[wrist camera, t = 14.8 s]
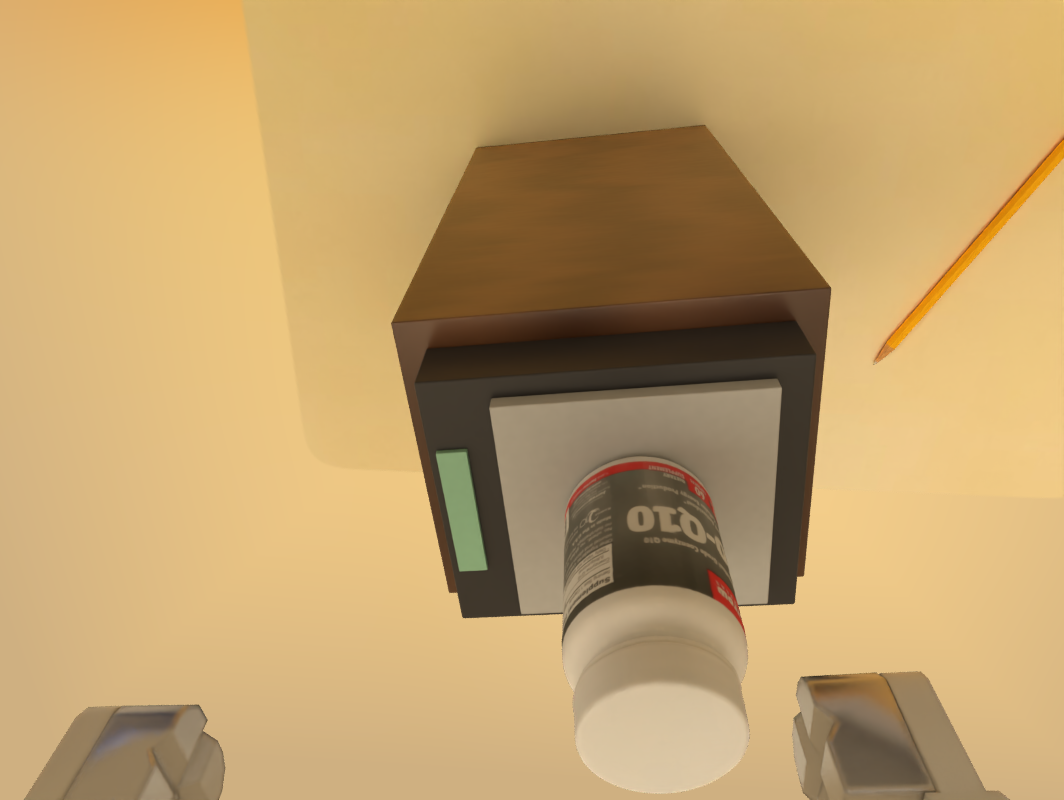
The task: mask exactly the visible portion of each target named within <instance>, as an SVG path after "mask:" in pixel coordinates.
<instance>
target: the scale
mask: <svg viewBox="0 0 1064 800" xmlns="http://www.w3.org/2000/svg"><path fill="white" fill-rule="evenodd" d="M816 358H817V354H816V352H815V351H814V349H813V347H812V346H811V344H810V343H809V341H808V339H807V338H806V336H805V334H804V333H803V331H802V329H801V328H800V326H799V324H798V323H797V321H786V322H773V323H759V324H746V325H733V326H720V327H707V328H694V329H680V330H667V331H654V332H641V333H628V334H615V335H601V336H588V337H575V338H562V339H549V340H536V341H523V342H509V343H496V344H483V345H470V346H457V347H444V348H430V349H426V352H425V355H424V357H423V360H422V363H421V366H420V368H419V371H418V374H417V377H416V379H415V382H414V386H415V391H416V396H417V401H418V406H419V411H420V415H421V420H422V425H423V430H424V435H425V439H426V444H427V449H428V454H429V459H430V463H431V468H432V473H433V478H434V483H435V488H436V492H437V497H438V502H439V507H440V512H441V516H442V521H443V526H444V531H445V536H446V540H447V545H448V550H449V555H450V560H451V564H452V569H453V574H454V579H455V584H456V589H457V593H458V598H459V603H460V608H461V613H462V617H463V618H479V617H500V616H501V617H503V616H526V615H549V614H563V585H564V528H565V513H566V507H567V503H568V501H569V498H570V496H571V494H572V492H573V490H574V489H575V488H576V486H577V485H578V484H579V483H580V482H581V481H582V480H583V479H584V478H585V477H586V476H587V475H589V474H590V473H591V472H593V471H594V470H596V469H597V468H599V467H601V466H603V465H605V464H607V463H609V462H612V461H615V460H618V459H623V458H627V457H636V456H647V457H656V458H661V459H665V460H669V461H671V462H674V463H676V464H678V465H680V466H682V467H684V468H685V469H687V470H688V471H690V472H691V473H692V474H693V475H694V476H696V477H697V478H698V479H699V480H700V482H701V483H702V484H703V485H704V487H705V488H706V490H707V491H708V493H709V495H710V498H711V500H712V503H713V507H714V510H715V515H716V519H717V523H718V527H719V532H720V535H721V540H722V544H723V548H724V552H725V556H726V559H727V564H728V568H729V572H730V576H731V579H732V582H733V587H734V591H735V596H736V600H737V604H738V606H754V605H755V606H757V605H778V604H779V605H780V604H794V603H795V593H796V582H797V571H798V560H799V549H800V537H801V526H802V515H803V504H804V493H805V481H806V470H807V459H808V448H809V437H810V425H811V414H812V403H813V392H814V381H815V369H816Z"/></svg>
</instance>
